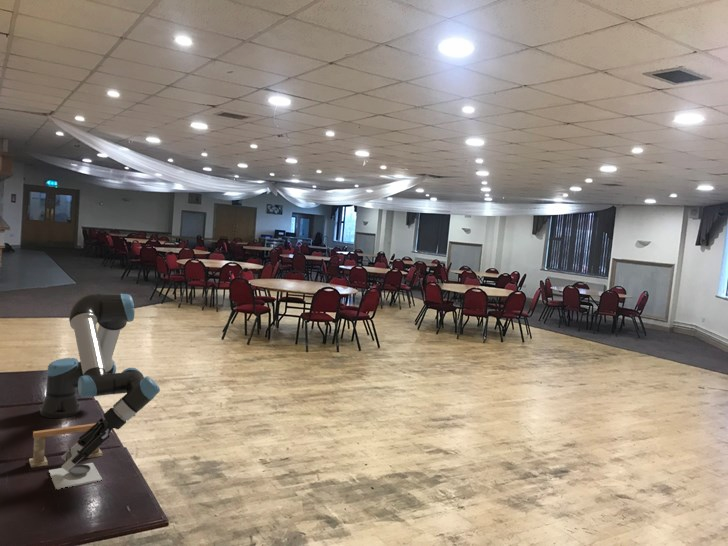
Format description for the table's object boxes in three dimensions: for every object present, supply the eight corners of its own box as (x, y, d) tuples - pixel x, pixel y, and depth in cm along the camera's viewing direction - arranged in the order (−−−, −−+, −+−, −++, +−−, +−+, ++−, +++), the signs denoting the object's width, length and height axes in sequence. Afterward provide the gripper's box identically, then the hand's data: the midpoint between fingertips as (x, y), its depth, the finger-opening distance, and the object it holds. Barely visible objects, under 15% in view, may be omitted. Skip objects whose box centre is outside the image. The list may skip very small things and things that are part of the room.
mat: (48, 471, 190) (48, 470, 190) (92, 464, 199) (92, 462, 199) (56, 489, 179) (56, 488, 179) (102, 480, 188) (102, 479, 188)
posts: (31, 467, 191) (32, 440, 190) (29, 462, 195) (30, 434, 194) (102, 455, 206) (103, 430, 205) (98, 450, 210) (100, 425, 209)
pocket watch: (94, 470, 192) (96, 442, 191) (74, 480, 184) (76, 451, 183) (77, 464, 195) (78, 437, 194) (56, 473, 187) (57, 445, 186)
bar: (33, 438, 192) (33, 433, 192) (32, 436, 193) (33, 431, 193) (101, 428, 206) (101, 424, 206) (100, 427, 207) (100, 422, 207)
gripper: (130, 431, 187) (73, 483, 180) (124, 411, 203) (72, 458, 197) (114, 417, 183) (56, 470, 177) (109, 398, 200) (55, 445, 194)
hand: (64, 464), depth 187 cm, fingers closed on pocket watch, 7 cm apart
